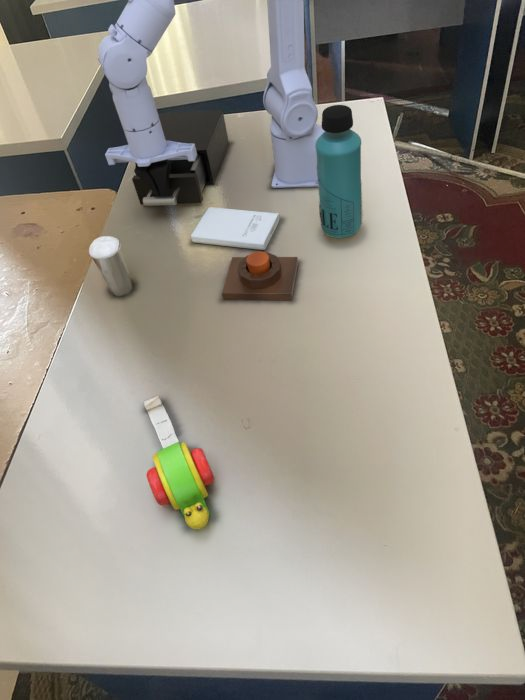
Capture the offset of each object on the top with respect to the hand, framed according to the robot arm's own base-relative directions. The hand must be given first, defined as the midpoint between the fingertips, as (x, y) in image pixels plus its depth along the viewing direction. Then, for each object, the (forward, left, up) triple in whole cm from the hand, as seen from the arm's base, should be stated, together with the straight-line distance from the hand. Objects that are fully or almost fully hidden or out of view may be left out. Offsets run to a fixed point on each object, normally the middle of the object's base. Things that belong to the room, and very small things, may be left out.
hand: (164, 198), depth 96 cm
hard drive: (-13, +5, -3) cm, 14 cm away
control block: (-19, +17, -3) cm, 26 cm away
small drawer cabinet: (0, -16, -3) cm, 16 cm away
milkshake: (+2, +19, -3) cm, 19 cm away
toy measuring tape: (-14, +48, -3) cm, 50 cm away
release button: (-19, +17, -1) cm, 25 cm away
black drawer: (0, -6, -2) cm, 7 cm away
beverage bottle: (-30, +6, -3) cm, 31 cm away
